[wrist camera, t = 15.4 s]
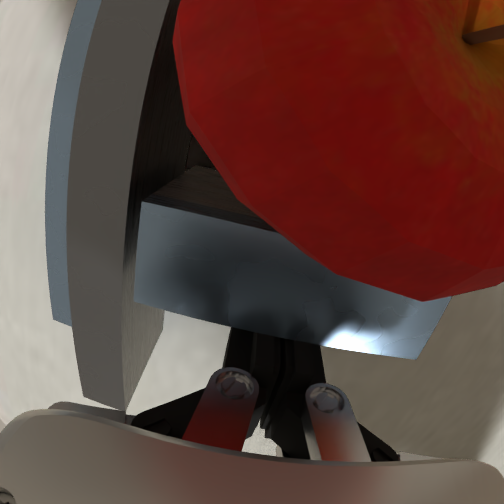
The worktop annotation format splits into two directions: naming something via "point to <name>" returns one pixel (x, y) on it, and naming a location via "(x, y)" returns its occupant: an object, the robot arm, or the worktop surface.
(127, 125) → the bracket
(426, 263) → the apple
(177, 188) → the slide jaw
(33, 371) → the worktop surface
